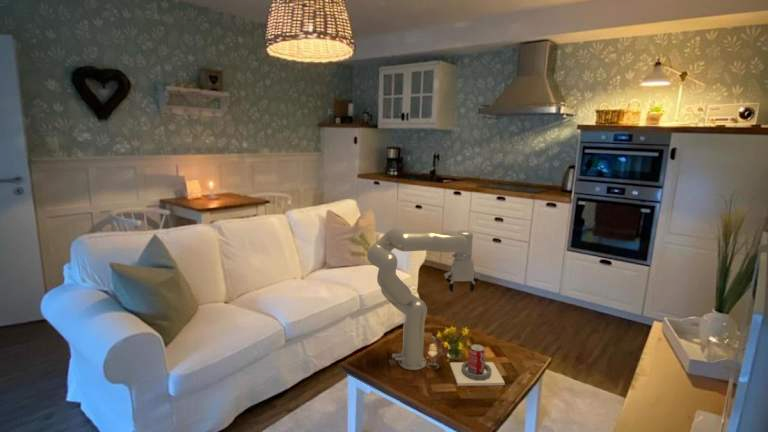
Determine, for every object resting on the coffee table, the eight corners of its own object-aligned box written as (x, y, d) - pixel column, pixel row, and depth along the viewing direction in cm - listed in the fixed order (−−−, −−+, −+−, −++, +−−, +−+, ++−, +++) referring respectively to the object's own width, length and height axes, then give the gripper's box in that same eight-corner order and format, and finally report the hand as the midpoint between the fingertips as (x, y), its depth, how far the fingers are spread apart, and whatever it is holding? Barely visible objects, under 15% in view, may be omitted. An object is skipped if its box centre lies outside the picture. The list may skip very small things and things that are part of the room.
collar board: (457, 385, 170) (458, 378, 170) (449, 364, 186) (450, 358, 185) (504, 385, 171) (505, 378, 171) (492, 364, 187) (493, 358, 186)
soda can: (483, 368, 181) (484, 344, 179) (484, 377, 174) (486, 352, 172) (467, 367, 182) (468, 342, 180) (468, 376, 175) (469, 350, 173)
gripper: (446, 258, 187) (445, 294, 190) (483, 259, 188) (481, 294, 191) (443, 254, 195) (441, 288, 198) (479, 254, 195) (476, 288, 199)
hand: (461, 291), depth 194 cm, fingers open, 9 cm apart
